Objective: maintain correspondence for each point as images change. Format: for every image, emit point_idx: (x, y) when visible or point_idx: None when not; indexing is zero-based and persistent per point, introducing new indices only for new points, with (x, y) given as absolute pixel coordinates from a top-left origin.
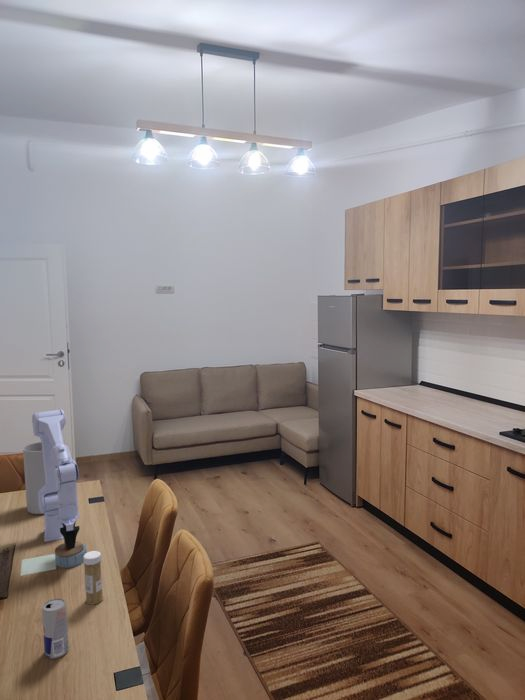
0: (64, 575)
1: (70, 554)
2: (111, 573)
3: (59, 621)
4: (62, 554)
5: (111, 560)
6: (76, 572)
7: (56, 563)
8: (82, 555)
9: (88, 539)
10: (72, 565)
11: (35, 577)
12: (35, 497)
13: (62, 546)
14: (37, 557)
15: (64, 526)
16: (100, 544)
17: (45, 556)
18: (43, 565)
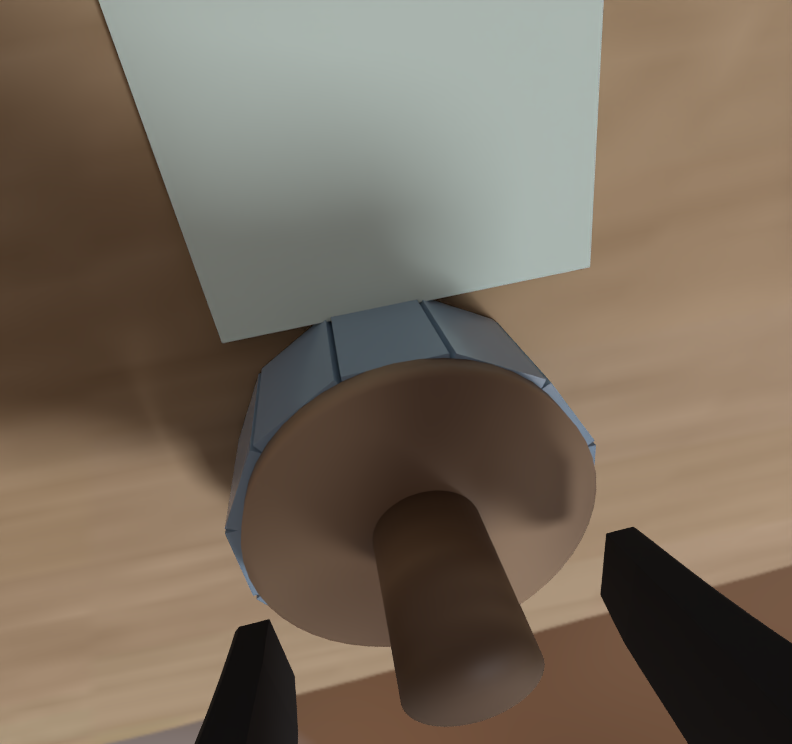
0: (92, 440)
1: (251, 578)
2: (126, 723)
3: None
4: (249, 506)
5: (322, 683)
6: (152, 524)
7: (314, 336)
8: None
9: (727, 488)
10: None
11: (27, 100)
12: None
13: (497, 452)
14: (587, 29)
15: (784, 734)
16: (596, 578)
17: (567, 150)
18: (330, 167)
